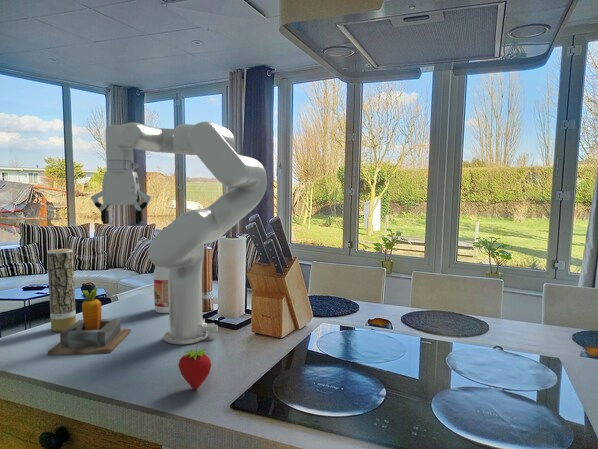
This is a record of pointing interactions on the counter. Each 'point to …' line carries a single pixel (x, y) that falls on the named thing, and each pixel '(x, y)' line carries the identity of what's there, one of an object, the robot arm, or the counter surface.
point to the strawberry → (195, 367)
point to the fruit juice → (161, 290)
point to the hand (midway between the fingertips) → (122, 223)
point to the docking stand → (90, 338)
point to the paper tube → (61, 289)
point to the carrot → (91, 310)
